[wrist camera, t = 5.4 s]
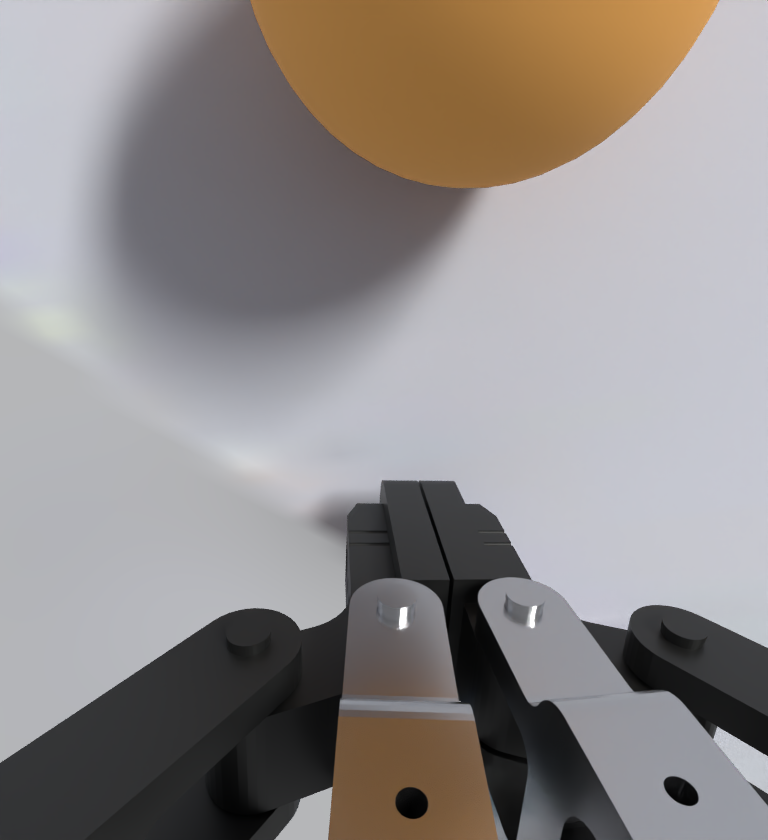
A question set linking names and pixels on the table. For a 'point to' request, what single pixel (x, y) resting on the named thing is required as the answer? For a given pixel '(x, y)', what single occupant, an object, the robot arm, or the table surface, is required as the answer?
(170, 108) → the table surface
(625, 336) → the table surface
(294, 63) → the ball
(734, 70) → the table surface
